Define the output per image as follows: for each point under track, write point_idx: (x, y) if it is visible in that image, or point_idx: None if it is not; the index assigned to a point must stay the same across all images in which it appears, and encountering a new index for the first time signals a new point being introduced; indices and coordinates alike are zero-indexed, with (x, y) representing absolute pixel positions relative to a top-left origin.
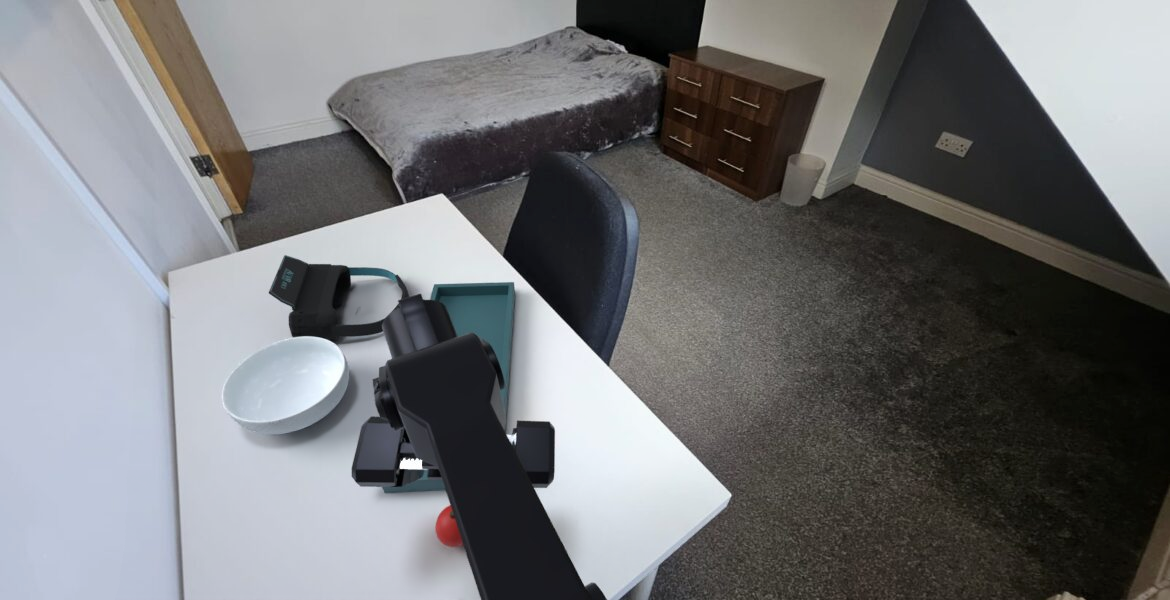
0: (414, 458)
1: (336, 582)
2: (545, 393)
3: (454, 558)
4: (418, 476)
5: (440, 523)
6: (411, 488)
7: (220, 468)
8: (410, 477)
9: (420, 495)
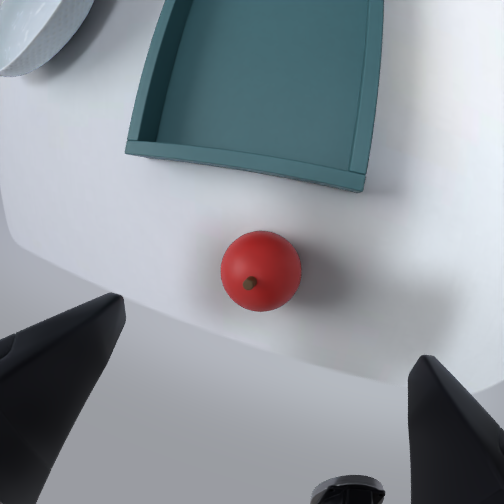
0: (21, 412)
1: (105, 279)
2: (453, 23)
3: None
4: (91, 380)
5: (227, 281)
6: (183, 161)
7: (8, 112)
8: (46, 454)
9: (201, 172)
